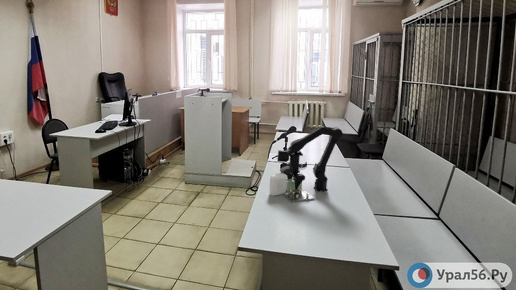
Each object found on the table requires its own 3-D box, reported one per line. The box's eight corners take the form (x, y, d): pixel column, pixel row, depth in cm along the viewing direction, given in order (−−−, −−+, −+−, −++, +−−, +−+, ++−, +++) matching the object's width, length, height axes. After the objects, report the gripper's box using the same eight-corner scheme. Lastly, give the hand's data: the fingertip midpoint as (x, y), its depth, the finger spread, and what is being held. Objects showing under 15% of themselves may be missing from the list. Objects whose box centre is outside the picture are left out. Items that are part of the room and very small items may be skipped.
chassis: (305, 192, 195) (305, 187, 194) (314, 199, 185) (314, 193, 184) (283, 194, 190) (283, 189, 189) (291, 202, 180) (292, 196, 179)
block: (298, 186, 205) (298, 178, 204) (301, 189, 201) (302, 180, 200) (283, 187, 202) (284, 179, 201) (286, 190, 198) (287, 181, 197)
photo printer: (282, 191, 196) (283, 171, 193) (286, 193, 193) (288, 173, 190) (268, 194, 191) (269, 173, 188) (272, 196, 187) (273, 176, 184)
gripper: (275, 158, 203) (274, 182, 207) (289, 167, 186) (287, 193, 190) (292, 157, 207) (290, 181, 211) (306, 166, 190) (304, 191, 194)
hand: (292, 186), depth 201 cm, fingers open, 9 cm apart
